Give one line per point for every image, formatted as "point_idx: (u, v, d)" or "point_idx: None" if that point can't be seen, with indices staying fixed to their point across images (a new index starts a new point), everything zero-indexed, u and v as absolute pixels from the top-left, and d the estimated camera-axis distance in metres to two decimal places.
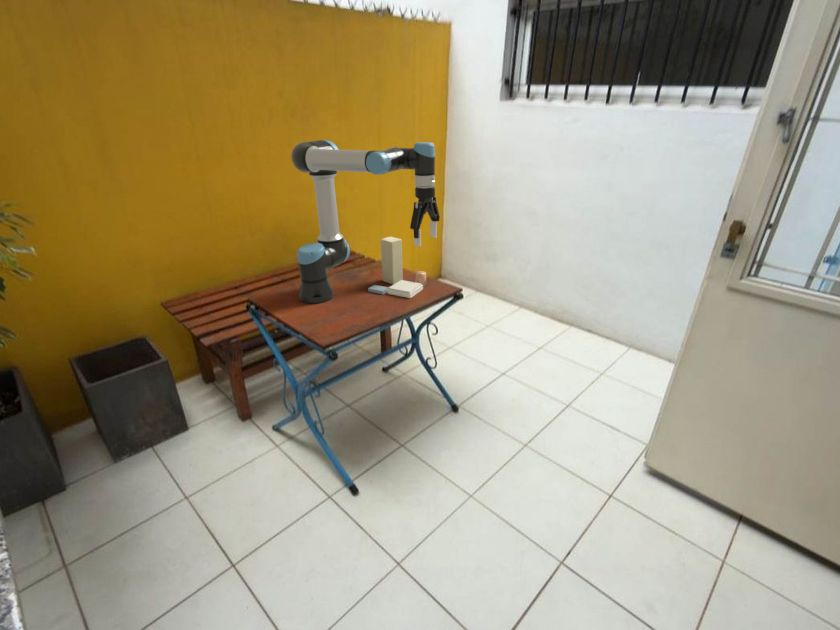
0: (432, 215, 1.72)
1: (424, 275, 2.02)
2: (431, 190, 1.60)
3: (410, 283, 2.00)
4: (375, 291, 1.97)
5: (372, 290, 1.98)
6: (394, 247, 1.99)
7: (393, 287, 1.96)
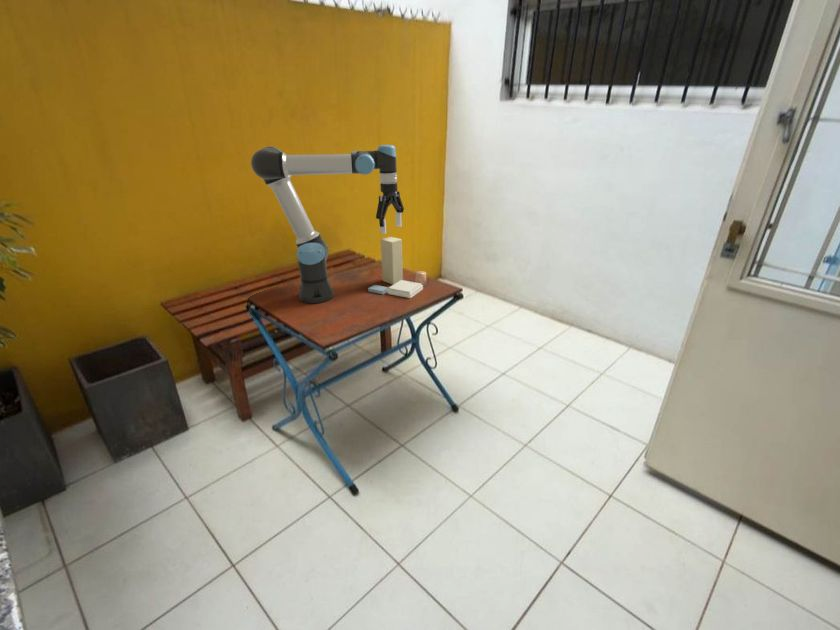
0: (396, 207, 2.00)
1: (424, 275, 2.02)
2: (393, 185, 1.88)
3: (410, 283, 2.00)
4: (375, 291, 1.97)
5: (372, 290, 1.98)
6: (394, 247, 1.99)
7: (393, 287, 1.96)
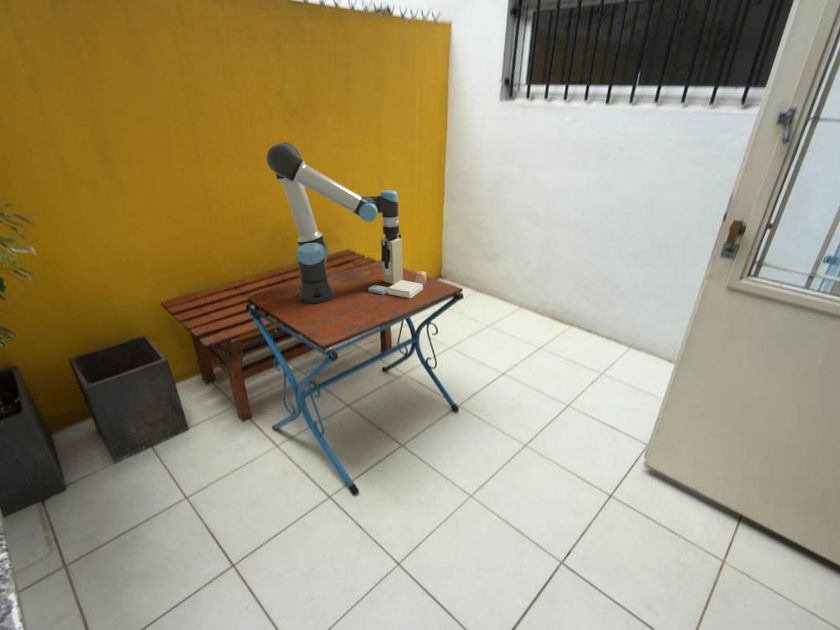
0: None
1: (424, 275, 2.02)
2: (395, 228, 1.97)
3: (410, 283, 2.00)
4: (375, 291, 1.97)
5: (372, 290, 1.98)
6: (394, 247, 1.99)
7: (393, 287, 1.96)
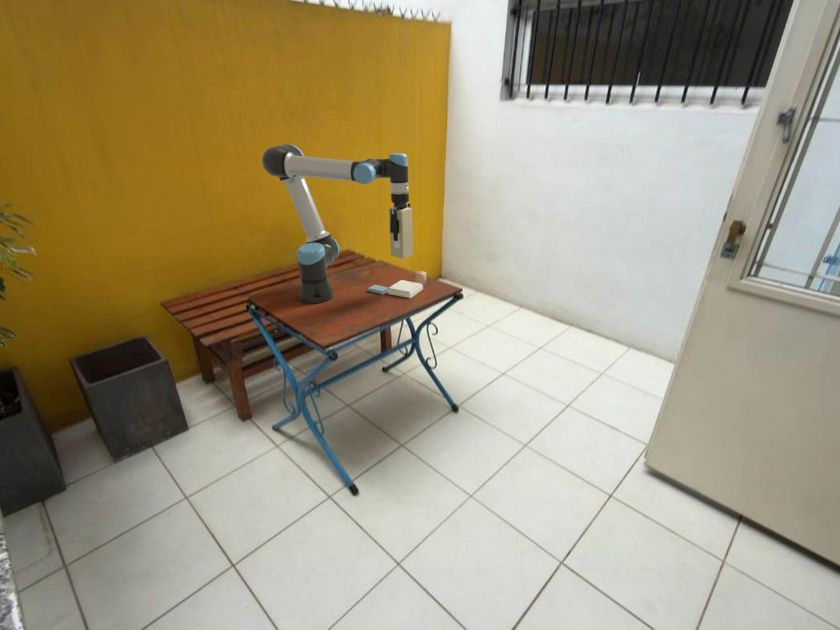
0: None
1: (424, 275, 2.02)
2: (405, 196, 1.79)
3: (410, 283, 2.00)
4: (375, 291, 1.97)
5: (372, 290, 1.98)
6: (404, 216, 1.82)
7: (393, 287, 1.96)
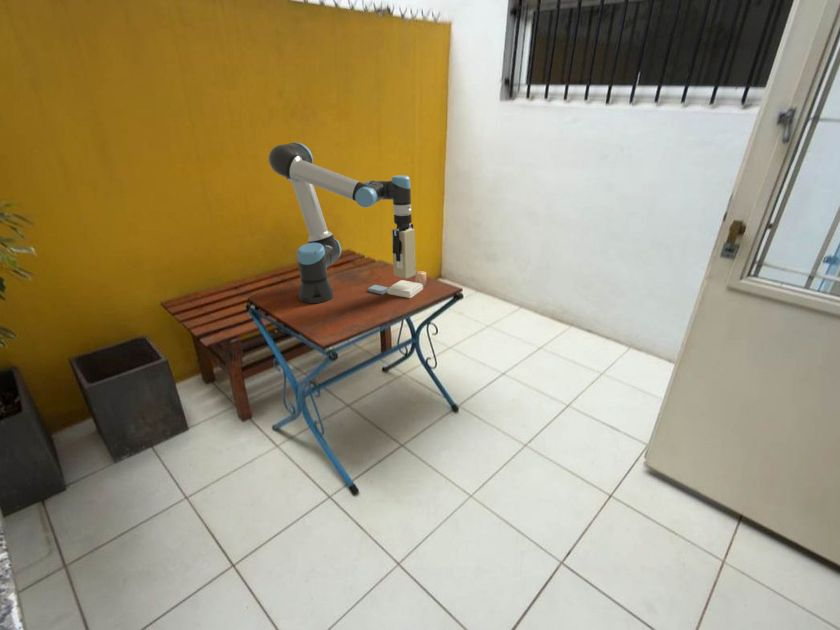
0: None
1: (424, 275, 2.02)
2: (408, 217, 1.81)
3: (410, 283, 2.00)
4: (375, 291, 1.97)
5: (372, 290, 1.98)
6: (406, 237, 1.83)
7: (393, 287, 1.96)
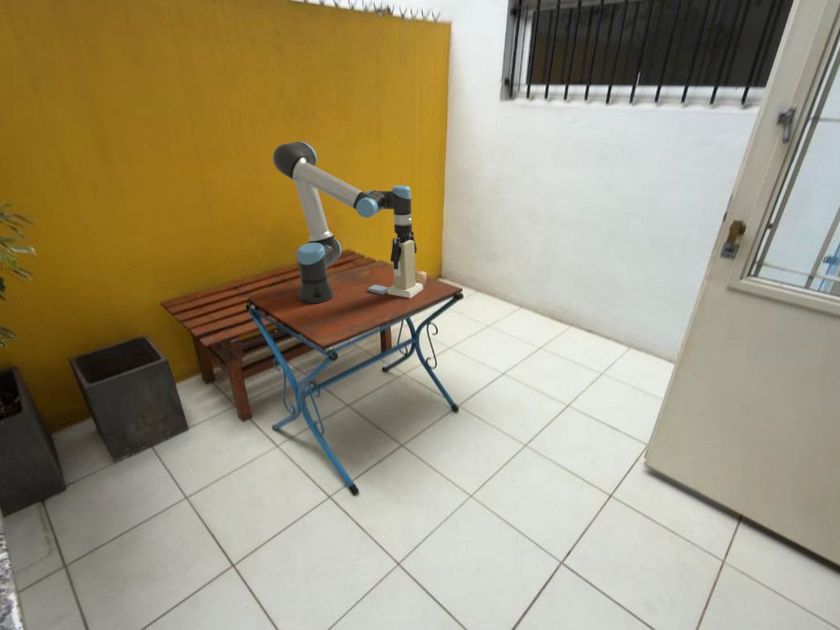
0: None
1: (424, 275, 2.02)
2: (408, 227, 1.83)
3: None
4: (375, 291, 1.97)
5: (372, 290, 1.98)
6: (406, 249, 1.85)
7: (393, 287, 1.96)
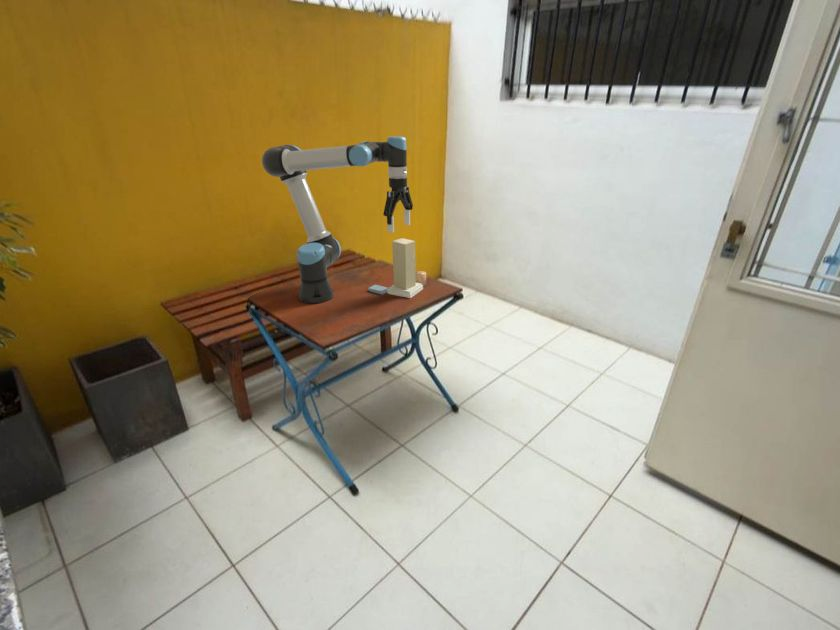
0: (405, 204, 1.86)
1: (424, 275, 2.02)
2: (403, 180, 1.75)
3: None
4: (375, 291, 1.97)
5: (372, 290, 1.98)
6: (407, 249, 1.86)
7: (393, 287, 1.96)
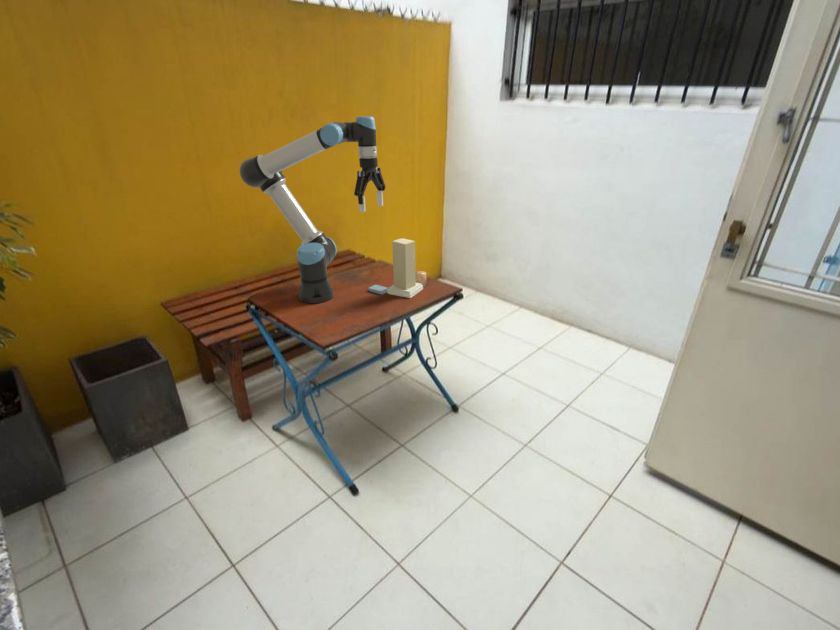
0: (377, 185, 1.88)
1: (424, 275, 2.02)
2: (373, 160, 1.77)
3: None
4: (374, 291, 1.97)
5: (372, 290, 1.98)
6: (407, 249, 1.86)
7: (393, 287, 1.96)
